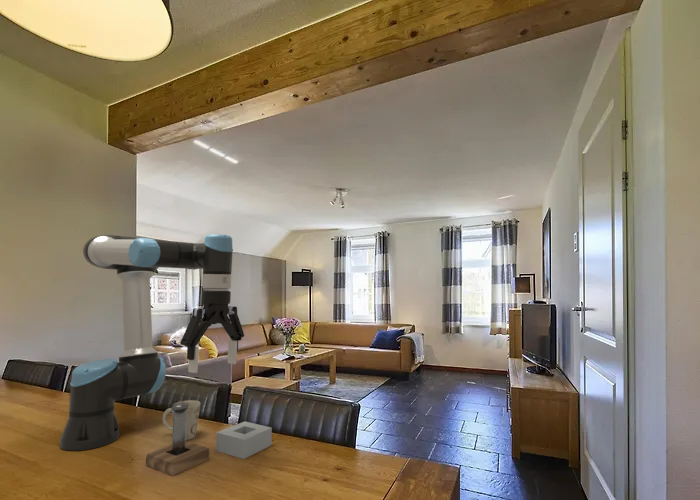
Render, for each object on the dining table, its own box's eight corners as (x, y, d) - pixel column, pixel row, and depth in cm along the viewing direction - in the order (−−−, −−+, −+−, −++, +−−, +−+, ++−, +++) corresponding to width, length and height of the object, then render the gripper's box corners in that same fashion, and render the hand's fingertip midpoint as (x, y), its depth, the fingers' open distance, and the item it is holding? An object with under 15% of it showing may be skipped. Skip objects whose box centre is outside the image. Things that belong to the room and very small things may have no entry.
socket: (216, 450, 113) (216, 432, 114) (244, 438, 123) (244, 421, 123) (243, 459, 108) (244, 439, 108) (271, 445, 117) (271, 427, 118)
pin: (165, 463, 105) (168, 405, 106) (179, 458, 109) (182, 401, 110) (176, 467, 103) (178, 407, 104) (189, 461, 106) (192, 403, 108)
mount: (146, 465, 104) (146, 453, 104) (182, 450, 113) (183, 440, 114) (172, 475, 98) (173, 463, 98) (208, 459, 108) (209, 447, 108)
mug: (189, 443, 119) (190, 408, 120) (152, 440, 121) (153, 406, 122) (204, 433, 127) (205, 401, 128) (169, 430, 129) (171, 398, 130)
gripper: (188, 290, 98) (183, 378, 96) (257, 289, 120) (255, 361, 118) (168, 290, 102) (164, 374, 100) (239, 289, 123) (236, 358, 122)
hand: (213, 367), depth 109 cm, fingers open, 13 cm apart
